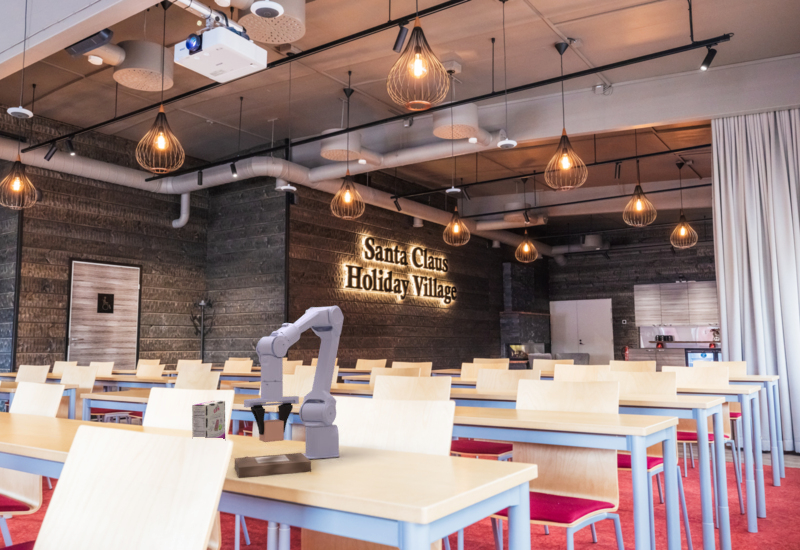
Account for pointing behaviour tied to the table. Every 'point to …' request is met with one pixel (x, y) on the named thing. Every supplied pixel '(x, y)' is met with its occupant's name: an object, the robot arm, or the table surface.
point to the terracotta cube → (273, 431)
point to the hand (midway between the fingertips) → (271, 433)
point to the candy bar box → (209, 419)
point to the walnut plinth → (272, 465)
